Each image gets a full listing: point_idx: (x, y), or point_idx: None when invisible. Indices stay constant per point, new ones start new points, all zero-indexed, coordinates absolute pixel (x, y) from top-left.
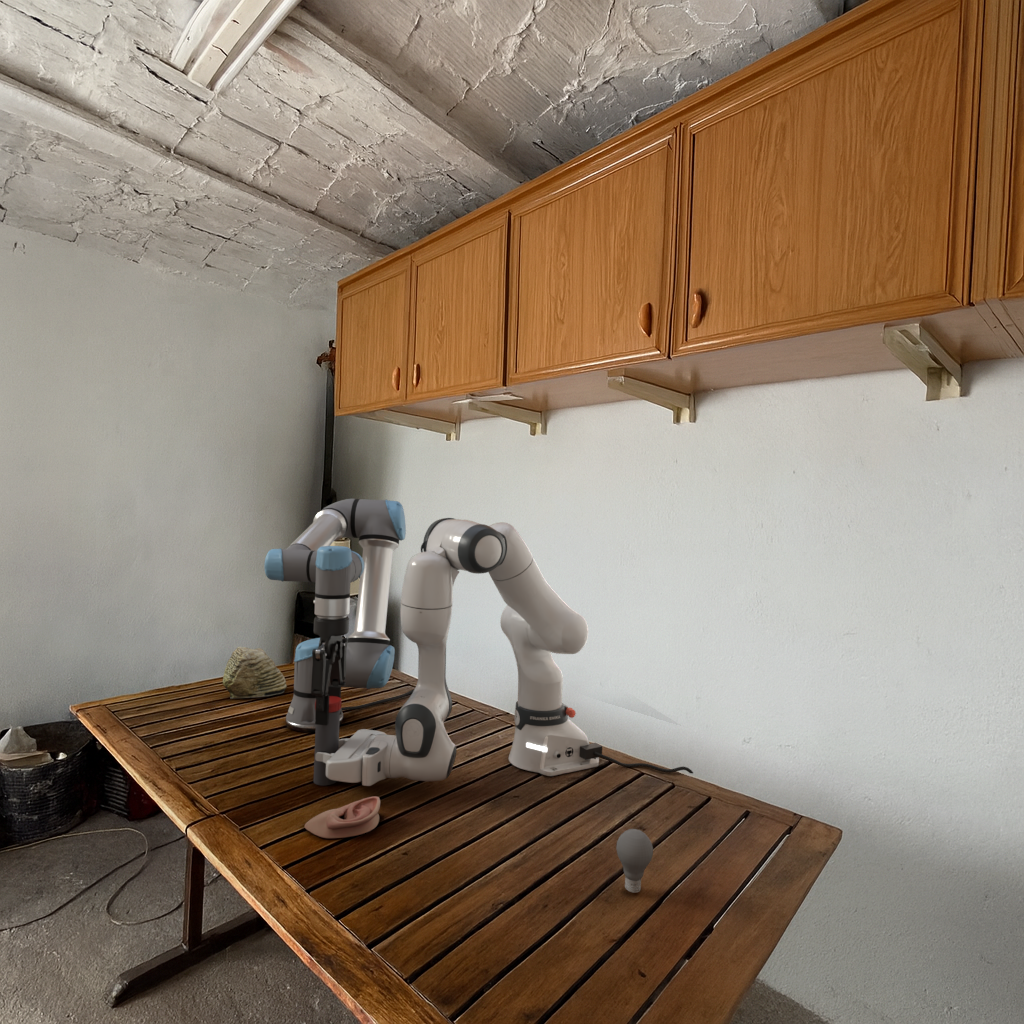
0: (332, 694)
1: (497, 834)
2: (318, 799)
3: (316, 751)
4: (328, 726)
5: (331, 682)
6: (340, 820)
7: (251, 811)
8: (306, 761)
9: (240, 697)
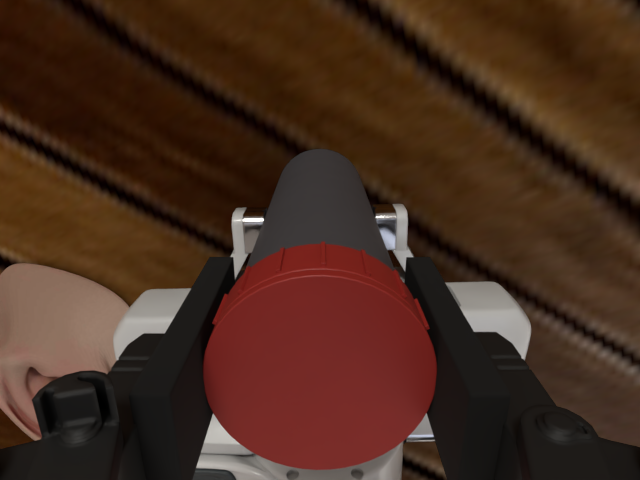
0: (442, 379)
1: None
2: (185, 226)
3: (272, 200)
4: None
5: (517, 446)
6: (6, 383)
7: (25, 45)
8: (475, 36)
9: None
